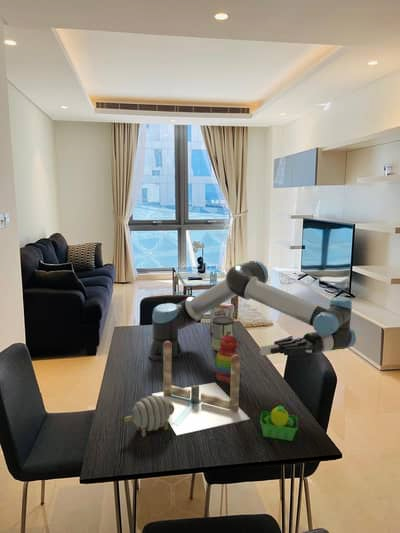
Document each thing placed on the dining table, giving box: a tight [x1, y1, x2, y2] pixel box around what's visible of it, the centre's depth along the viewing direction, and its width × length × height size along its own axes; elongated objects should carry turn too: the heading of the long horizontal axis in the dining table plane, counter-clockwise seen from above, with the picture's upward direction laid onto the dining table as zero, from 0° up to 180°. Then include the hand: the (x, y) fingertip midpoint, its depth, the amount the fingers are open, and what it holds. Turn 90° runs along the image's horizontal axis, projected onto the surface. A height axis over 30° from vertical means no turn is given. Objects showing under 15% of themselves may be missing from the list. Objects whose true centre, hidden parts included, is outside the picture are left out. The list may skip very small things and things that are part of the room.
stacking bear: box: [215, 334, 242, 384], centre depth 167 cm, size 11×10×18 cm
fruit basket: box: [259, 405, 299, 441], centre depth 129 cm, size 11×9×11 cm
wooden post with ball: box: [162, 341, 199, 403], centre depth 149 cm, size 15×3×21 cm, turn 66°
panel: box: [201, 353, 242, 412], centre depth 143 cm, size 14×3×20 cm, turn 65°
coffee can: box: [211, 317, 235, 352], centre depth 199 cm, size 10×10×14 cm
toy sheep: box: [123, 395, 174, 438], centre depth 130 cm, size 11×17×11 cm, turn 125°
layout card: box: [151, 382, 251, 437], centre depth 146 cm, size 28×26×1 cm
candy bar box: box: [209, 302, 234, 334], centre depth 218 cm, size 11×5×16 cm, turn 66°
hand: (261, 351), depth 141 cm, fingers closed
